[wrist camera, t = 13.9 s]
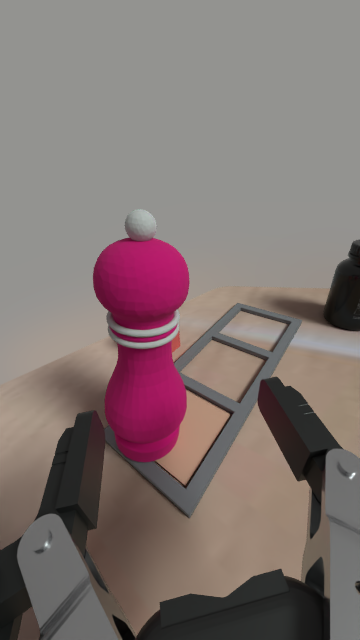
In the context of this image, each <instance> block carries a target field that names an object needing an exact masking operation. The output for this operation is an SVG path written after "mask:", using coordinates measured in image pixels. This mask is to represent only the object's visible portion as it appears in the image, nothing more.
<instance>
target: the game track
mask: <svg viewBox="0 0 360 640" xmlns="http://www.w3.org/2000/svg"><path fill="white" fill-rule="evenodd" d="M240 311H245V312H248V313H252V314H255V315H259V316H262V317H266V318H269V319H273V320H276V321H280V322H283V323H287V324H290V325H289V327H288V328H287V330H286V332H285V333H284V335H283V336H282V338H281V340H280V341H279V343H278V344H277V346H276V347H275V349H274V351H273V352H270V351H267V350H265V349H262V348H259V347H256V346H253V345H251V344H248V343H245V342H242V341H240V340H237V339H234V338H231V337H229V336H226V335H223V334H220V333H219V332H220V331H221V330H222V329H223V328H224V327H225V326H226V325H227V324H228V323H229V322H230V321H231V320H232V319H233V318H234V317H235V316H236V315H237V314H238V313H239V312H240ZM301 323H302V320H299V319H296V318H292V317H288V316H285V315H281V314H277V313H273V312H270V311H266V310H262V309H259V308H255V307H251V306H247V305H244V304H240V303H237V304H236V305H235V306H234V307H233V308H232V309H231V310H230V311H229V312H228V313H226V314H225V315H224V316H223V317H222V318H221V319H220V320H219V321H218V322H217V323H216V324H215V325H214V326H213V327H212V328H211V329H210V330H209V331H207V332H206V333H205V334H204V335H203V336H202V337H201V338H200V339H199V340H198V341H197V342H196V343H195V344H194V345H193V346H192V347H191V348H190V349H189V350H187V351H186V352H185V353H184V354H183V355H182V356H181V357H180V358H179V359H178V360H177V361H176V362H175V363H174V366H175V368H176V369H177V371H178V373H179V374H180V376H181V378H182V380H183V383H184V386H185V388H186V389H188V390H190V391H191V392H193V393H195V394H197V395H199V396H200V397H202V398H204V399H206V400H208V401H209V402H211V403H213V404H215V405H217V406H219V407H220V408H222V409H224V410H226V411H228V412H229V413H231V414H233V415H232V417H231V419H230V420H229V422H228V423H227V425H226V426H225V428H224V430H223V431H222V433H221V434H220V436H219V438H218V439H217V441H216V442H215V444H214V445H213V447H212V449H211V450H210V452H209V453H208V455H207V457H206V458H205V460H204V461H203V463H202V464H201V466H200V468H199V469H198V471H197V472H196V474H195V475H194V477H193V479H192V480H191V482H190V483H189V485H188V487H187V488H186V489H185V488H184V487H183V486H181V485H180V484H179V483H178V482H177V481H175V480H174V479H173V478H172V477H171V476H170V475H168V474H167V473H166V472H165V471H164V470H162V469H161V468H160V467H159V466H158V465H156V464H155V463H154V462H153V461H151V462H138V461H134V460H131V459H129V458H128V457H126V456H125V455H124V454H123V453H122V452H121V451H120V450H119V448H118V446H117V444H116V440H115V434H114V431H113V430H112V429H111V427H110V426H109V425H108V426H107V427H106V428H105V429H104V431H105V441H106V442H107V443H108V444H109V445H110V446H111V447H112V448H113V449H115V450H116V451H117V452H118V453H119V454H120V455H121V456H122V457H123V458H124V459H125V460H127V461H128V462H129V463H130V464H131V465H132V466H133V467H134V468H135V469H136V470H137V471H139V472H140V473H141V474H142V475H143V476H144V477H145V478H146V479H147V480H148V481H150V482H151V483H152V484H153V485H154V486H155V487H156V488H157V489H158V490H159V491H160V492H162V493H163V494H164V495H165V496H166V497H167V498H168V499H169V500H170V501H171V502H172V503H174V504H175V505H176V506H177V507H178V508H179V509H180V510H181V511H182V512H183V513H185V514H186V515H187V516H188V517H189V518H190V517H191V515H192V513H193V512H194V510H195V508H196V506H197V505H198V503H199V501H200V499H201V498H202V496H203V494H204V492H205V491H206V489H207V487H208V485H209V484H210V482H211V480H212V478H213V477H214V475H215V473H216V471H217V470H218V468H219V466H220V464H221V463H222V461H223V459H224V457H225V456H226V454H227V452H228V450H229V449H230V447H231V445H232V443H233V442H234V440H235V438H236V436H237V435H238V433H239V431H240V429H241V428H242V426H243V424H244V422H245V421H246V419H247V417H248V416H249V414H250V412H251V410H252V409H253V407H254V405H255V403H256V402H257V400H258V393H259V387H260V381H261V380H262V379H267V378H270V377H271V375H272V374H273V372H274V370H275V368H276V367H277V365H278V363H279V361H280V360H281V358H282V356H283V354H284V353H285V351H286V349H287V347H288V346H289V344H290V342H291V340H292V339H293V337H294V335H295V333H296V332H297V330H298V328H299V327H300V325H301ZM212 339H213V340H215V341H218V342H221V343H223V344H226V345H228V346H231V347H234V348H236V349H239V350H241V351H244V352H247V353H249V354H252V355H255V356H257V357H260V358H262V359H265V360H267V362H266V363H265V365H264V366H263V368H262V370H261V371H260V373H259V374H258V376H257V377H256V379H255V381H254V382H253V384H252V385H251V387H250V389H249V390H248V392H247V393H246V395H245V396H244V398H243V400H242V401H241V403H238V402H236V401H234V400H232V399H230V398H228V397H226V396H224V395H222V394H220V393H218V392H216V391H214V390H212V389H211V388H209V387H207V386H205V385H203V384H201V383H199V382H197V381H195V380H193V379H191V378H189V377H187V376H185V375H183V374H182V373H180V371H181V370H182V369H183V368H184V367H185V366H186V365H187V364H188V363H189V362H190V361H191V360H192V359H193V358H194V357H195V356H196V355H197V354H198V353H199V352H200V351H201V350H202V349H203V348H204V347H205V346H206V345H207V344H208V343H209V342H210V341H211V340H212ZM191 392H189V391H187V390H186V394H187V408H186V413H185V416H184V419H183V421H182V422H181V424H180V428H179V436H178V440H177V442H176V444H175V446H174V447H173V449H172V450H171V451H170V452H169V453H168V454H167V455H165V456H164V457H162V458H160V459H158V460H155V462H157V463H158V464H159V465H160V466H161V467H163V468H164V469H165V470H166V471H167V472H169V473H170V474H171V475H172V476H173V477H175V478H176V479H177V480H178V481H179V482H181V483H182V484H183V485H184V486H186V485H187V483H188V482H189V480H190V479H191V477H192V476H193V474H194V472H195V471H196V469H197V468H198V466H199V465H200V463H201V461H202V460H203V458H204V457H205V455H206V454H207V452H208V450H209V449H210V447H211V446H212V444H213V443H214V441H215V440H216V438H217V436H218V435H219V433H220V432H221V430H222V429H223V427H224V425H225V424H226V422H227V421H228V419H229V418H230V416H231V415H230V414H228V413H226V412H225V411H223V410H221V409H219V408H218V407H216V406H214V405H212V404H210V403H209V402H207V401H205V400H203V399H201V398H200V397H198V396H196V395H194V394H192V393H191Z"/></svg>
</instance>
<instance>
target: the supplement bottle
mask: <svg viewBox="0 0 360 640" xmlns="http://www.w3.org/2000/svg"><path fill="white" fill-rule="evenodd" d="M348 256H349V258H348V259H346V260H343V261H342V262H341V263H339V264H338V266H337V268H336V271H335V274H334V277H333V281H332V284H331V288H330V291H329V295H328V298H327V301H326V305H325V309H324V317H325V319H326V320H327V321H328V322H329V323H331V324H333V325H334V326H337V327H339V328H343V329H347V330H355V331H359V330H360V240H356V241H354V242H353V243H352V246H351V249H350V251H349V253H348Z"/></svg>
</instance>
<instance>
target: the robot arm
mask: <svg viewBox="0 0 360 640" xmlns="http://www.w3.org/2000/svg"><path fill="white" fill-rule="evenodd" d="M258 406H259V409H260V412H261V414H262V415H263V417H264V419H265V421H266V423H267V425H268V427H269V429H270V430H271V432H272V434H273V436H274V438H275V440H276V442H277V444H278V446H279V447H280V449H281V451H282V453H283V455H284V457H285V459H286V461H287V462H288V464H289V466H290V468H291V470H292V472H293V474H294V476H295V478H296V479H297V481H302V480H307V482H308V484H309V486H310V490H309V506H308V523H307V539H306V545H305V549H304V554H303V560H302V573H301V581H299V580H297V579H294V578H291V577H288V576H284V575H283V572H282V570H281V569H278V570H275V571H271V572H267V573H264V574H260V575H257V576H253V577H251V578H250V579H249V580H248V581H246V582H245V583H244V584H242V585H241V586H240V587H239V588H237V589H236V590H235V591H233V592H232V593H231V594H229V595H228V596H227V597H224V598H221V597H213V596H205V595H197V594H188V595H184V596H181V597H177V598H174V599H170V600H166V601H163V602H160V610H159V611H157V612H156V613H155V614H154V615H153V616H152V617H151V618H150V619H149V620H148V621H147V622H146V623H145V625H144V626H143V627H142V629H141V630H140V632H139V633H138V635H137V636H136V634H135V632H134V630H133V628H132V627H131V625H130V623H129V621H128V619H127V617H126V615H125V614H124V612H123V610H122V608H121V607H120V605H119V604H118V602H117V601H116V599H115V598H114V596H113V595H112V593H111V591H110V589H109V588H108V586H107V584H106V582H105V580H104V578H103V576H102V575H101V573H100V571H99V569H98V567H97V565H96V563H95V562H94V560H93V558H92V556H91V554H90V552H89V550H88V548H87V547H86V540H87V532H88V530H92V529H96V528H97V518H98V508H99V499H100V489H101V479H102V469H103V459H104V449H105V431H104V428H103V425H102V423H101V421H100V419H99V416H98V414H97V412H96V411H95V410H94V411H89V412H83V413H79V414H78V415H77V417H76V420H75V425H74V427H71V428H66V430H65V431H64V433H63V434H62V436H61V438H60V439H59V441H58V444H57V448H56V451H55V456H54V459H53V462H52V467H51V470H50V473H49V477H48V480H47V484H46V488H45V491H44V495H43V499H42V502H41V506H40V509H39V512H38V515H37V517H36V519H35V521H34V522H33V523H32V524H31V525H30V526H29V528H28V529H27V530H26V532H25V533H24V535H23V536H21V537H20V538H19V539H18V540H16V541H15V542H14V543H12V544H10V545H9V546H7V547H5V548H4V549H2V550H0V640H17V638H18V634H19V629H20V624H21V619H22V615H23V613H24V612H25V611H26V610H28V609H29V608H31V607H32V606H33V609H34V612H35V615H36V618H37V621H38V625H39V628H40V638H39V640H360V458H358V457H357V456H356V455H354V454H353V453H351V452H349V451H347V450H344V449H343V448H342V447H341V446H340V445H339V444H338V443H337V441H336V440H335V439H334V437H333V436H332V435H331V433H330V432H329V431H328V429H327V428H326V427H325V425H324V424H323V423H322V421H321V420H320V419H319V417H318V416H317V415H316V413H314V411H313V410H312V408H311V407H310V406H309V405H308V403H307V402H306V400H305V399H304V398H303V396H302V395H301V394H300V393H299V392H298V391H296V390H295V389H294V388H292V387H291V386H286V387H285V386H284V385H283V383H282V382H281V380H280V379H279V378H278V377H272V378H267V379H262V380H261V381H260V387H259V393H258Z"/></svg>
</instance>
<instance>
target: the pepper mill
mask: <svg viewBox="0 0 360 640" xmlns="http://www.w3.org/2000/svg"><path fill="white" fill-rule="evenodd" d="M125 229H126V232H127V234H128V236H129V237H130V238H125V239H122V240H119V241H116V242H114V243H113V244H111V245H109V246H108V247H107V248H106V249H104V250H103V251H102V253H101V254H100V256H99V257H98V259H97V262H96V264H95V267H94V273H93V284H94V290H95V293H96V297H97V298H98V300H99V301H100V303H101V304H102V305H103V306H104V307H105V308H106V309H107V310H108V313H107V323H108V332H109V335H110V337H111V338H112V339H113V340H114V341H115V342H117V345H118V361H117V365H116V367H115V370H114V372H113V374H112V376H111V379H110V381H109V383H108V387H107V391H106V395H105V415H106V419H107V422H108V424H109V426H110V427H111V429H112V430H113V431H114V434H115V440H116V444H117V446H118V448H119V450H120V451H121V452H122V453H123V454H124V455H125V456H126V457H128V458H129V459H131V460H134V461H138V462H151V461H155V460H158V459H160V458H162V457H164V456H165V455H167V454H168V453H169V452H170V451H171V450H172V449H173V447H174V446H175V444H176V442H177V440H178V436H179V428H180V424H181V422H182V421H183V419H184V416H185V413H186V408H187V394H186V389H185V386H184V383H183V380H182V378H181V376H180V374H179V373H178V371H177V369H176V368H175V366H174V363H173V359H172V345H171V344H172V339H173V338H174V337H176V335H177V334H178V331H179V324H178V322H179V318H180V315H179V311H178V310H177V309H178V308H179V307H180V306H181V305H182V304H183V302H184V301H185V299H186V297H187V294H188V289H189V272H188V268H187V264H186V262H185V260H184V258H183V257H182V255H181V254H180V253H179V252H178V251H177V250H176V249H175V248H174V247H173V246H171V245H169V244H168V243H165V242H163V241H161V240H158V239H155V238H153V236H154V235H155V233H156V221H155V219H154V217H153V216H152V215H151V214H150V213H149V212H147V211H146V210H141V209H137V210H134V211H132V212H131V213H130V214H129V215H128V216H127V218H126V221H125Z"/></svg>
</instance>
